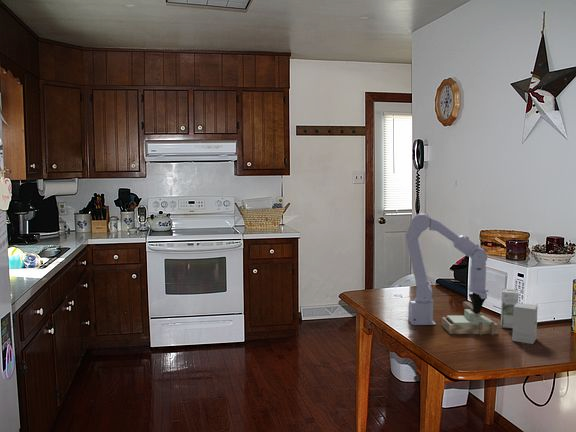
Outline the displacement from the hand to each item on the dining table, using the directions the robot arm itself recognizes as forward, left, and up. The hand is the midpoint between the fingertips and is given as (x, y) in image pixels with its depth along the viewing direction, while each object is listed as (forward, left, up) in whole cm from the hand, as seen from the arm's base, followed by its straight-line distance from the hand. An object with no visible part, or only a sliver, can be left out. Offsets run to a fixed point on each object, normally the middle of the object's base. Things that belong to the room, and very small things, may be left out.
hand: (476, 312), depth 210 cm
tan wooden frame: (-4, -5, -6) cm, 8 cm away
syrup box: (+13, -1, -6) cm, 14 cm away
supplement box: (+12, -17, -6) cm, 21 cm away
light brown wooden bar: (0, +7, -1) cm, 7 cm away
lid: (-4, -5, -2) cm, 7 cm away
